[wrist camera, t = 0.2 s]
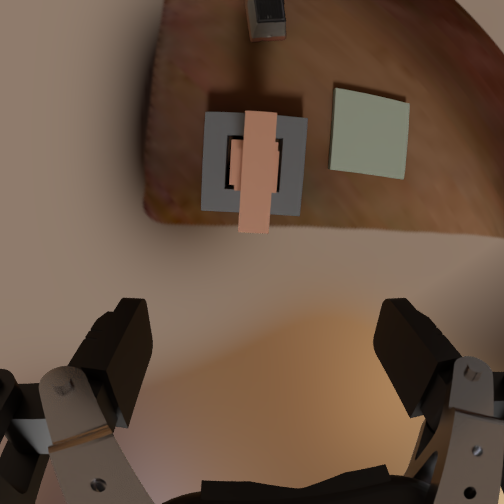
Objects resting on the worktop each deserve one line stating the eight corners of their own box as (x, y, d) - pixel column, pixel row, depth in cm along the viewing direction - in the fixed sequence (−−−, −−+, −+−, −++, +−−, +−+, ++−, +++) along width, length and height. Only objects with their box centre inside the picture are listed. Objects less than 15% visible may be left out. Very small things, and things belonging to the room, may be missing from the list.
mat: (333, 89, 33) (335, 87, 32) (405, 104, 33) (409, 103, 32) (328, 168, 36) (330, 169, 35) (400, 178, 36) (403, 179, 35)
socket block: (208, 114, 34) (205, 111, 31) (302, 120, 34) (307, 118, 31) (204, 205, 37) (201, 210, 34) (295, 210, 38) (299, 216, 35)
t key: (233, 127, 34) (221, 109, 18) (276, 130, 34) (300, 114, 18) (230, 194, 37) (215, 230, 21) (271, 196, 37) (290, 235, 21)
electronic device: (275, -19, 28) (281, -48, 21) (287, 41, 31) (295, 19, 24) (241, -16, 28) (239, -46, 21) (250, 44, 31) (250, 22, 24)
